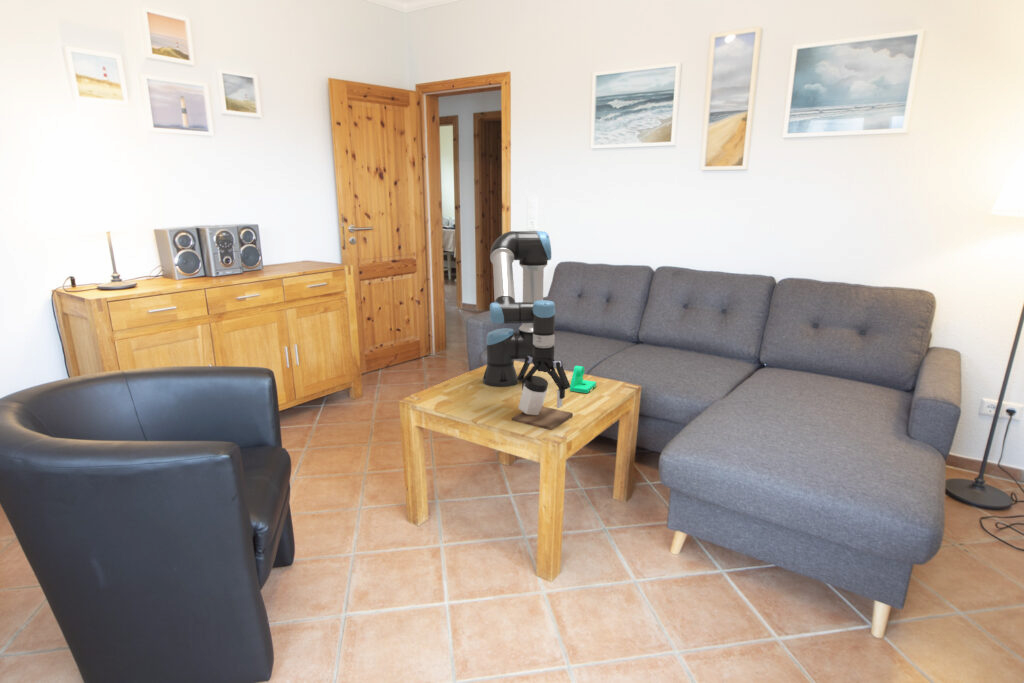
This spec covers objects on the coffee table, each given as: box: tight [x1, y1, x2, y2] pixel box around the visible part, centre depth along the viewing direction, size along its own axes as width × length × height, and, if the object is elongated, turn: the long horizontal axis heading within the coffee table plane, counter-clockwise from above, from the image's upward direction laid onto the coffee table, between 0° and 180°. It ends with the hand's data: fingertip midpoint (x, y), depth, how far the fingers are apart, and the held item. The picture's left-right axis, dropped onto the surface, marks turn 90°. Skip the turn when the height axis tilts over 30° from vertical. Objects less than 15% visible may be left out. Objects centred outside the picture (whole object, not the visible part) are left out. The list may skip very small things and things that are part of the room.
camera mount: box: [569, 365, 597, 394], centre depth 234 cm, size 12×8×10 cm, turn 153°
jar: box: [518, 375, 549, 415], centre depth 200 cm, size 9×8×12 cm
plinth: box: [511, 406, 574, 431], centre depth 200 cm, size 16×16×2 cm
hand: (542, 403), depth 199 cm, fingers open, 13 cm apart
